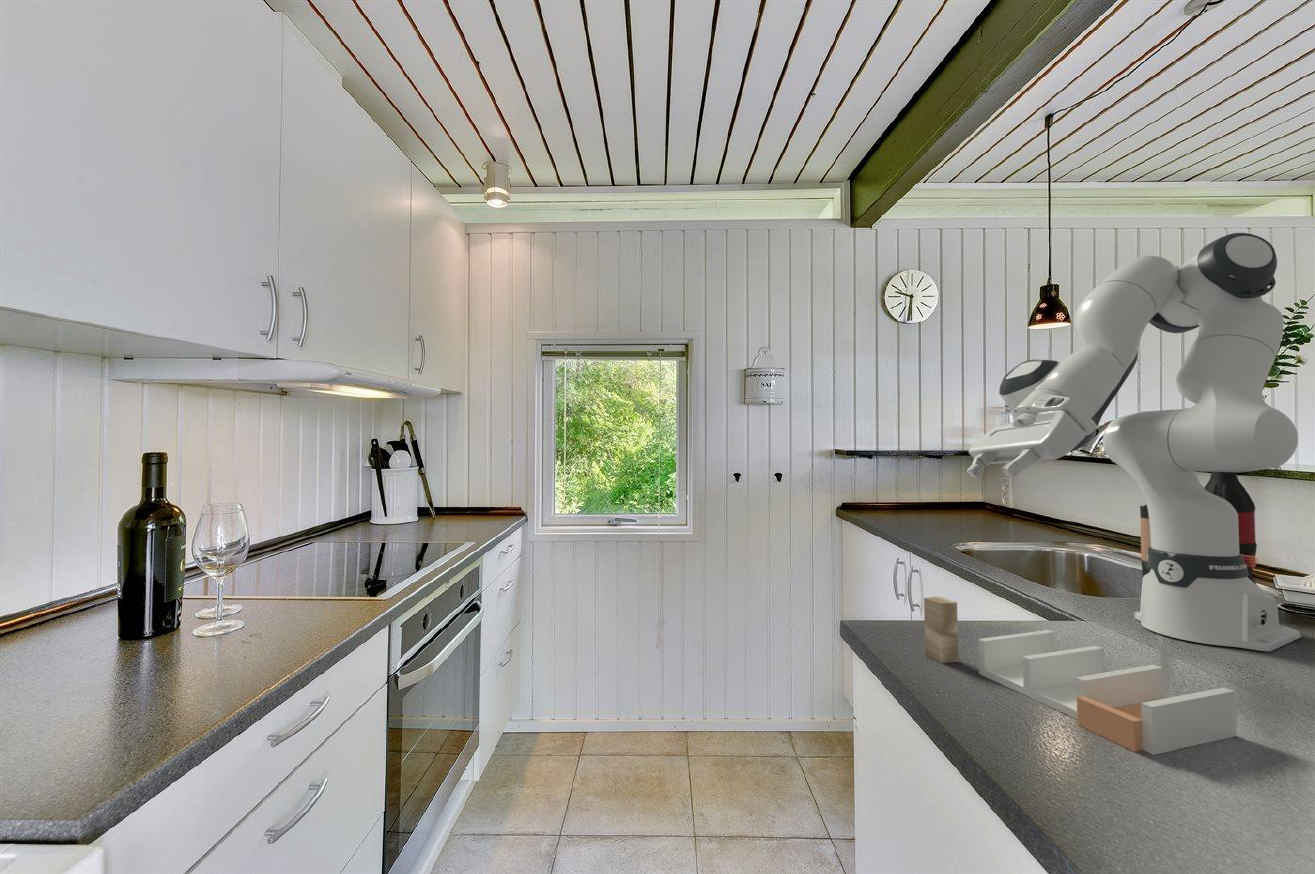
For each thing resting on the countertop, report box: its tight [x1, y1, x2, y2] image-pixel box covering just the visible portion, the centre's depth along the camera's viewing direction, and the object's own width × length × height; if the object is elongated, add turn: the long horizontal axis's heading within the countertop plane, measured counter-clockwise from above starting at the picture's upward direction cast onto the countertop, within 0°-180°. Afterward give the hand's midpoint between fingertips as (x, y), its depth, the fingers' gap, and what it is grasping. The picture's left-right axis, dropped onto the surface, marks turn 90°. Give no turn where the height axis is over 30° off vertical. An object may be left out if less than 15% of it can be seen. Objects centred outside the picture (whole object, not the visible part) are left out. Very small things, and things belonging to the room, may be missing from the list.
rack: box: [977, 629, 1238, 756], centre depth 70 cm, size 14×22×5 cm, turn 16°
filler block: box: [923, 596, 960, 664], centre depth 85 cm, size 3×4×9 cm
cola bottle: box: [1203, 472, 1258, 586], centre depth 112 cm, size 8×8×30 cm
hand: (988, 474), depth 92 cm, fingers open, 8 cm apart
